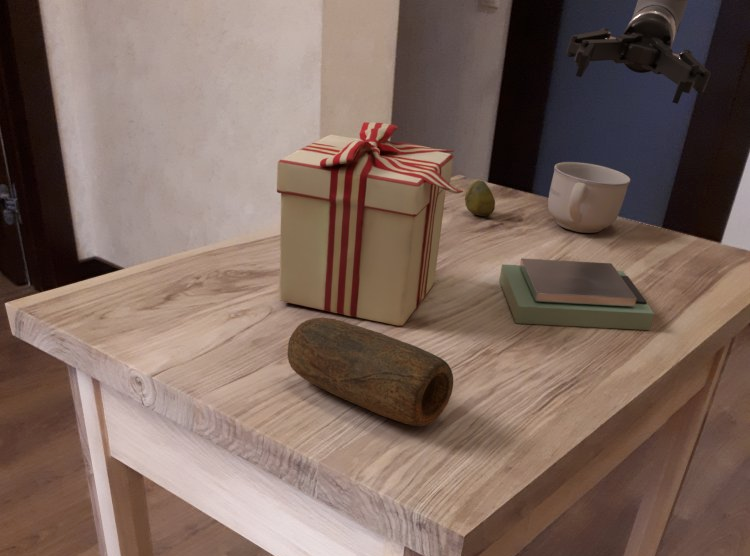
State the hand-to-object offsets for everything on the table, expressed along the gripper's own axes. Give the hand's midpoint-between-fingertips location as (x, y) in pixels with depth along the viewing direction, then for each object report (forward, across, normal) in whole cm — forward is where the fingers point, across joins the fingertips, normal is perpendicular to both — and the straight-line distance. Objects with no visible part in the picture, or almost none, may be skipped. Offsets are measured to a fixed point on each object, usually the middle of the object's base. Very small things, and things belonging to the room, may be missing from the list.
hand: (629, 79), depth 108 cm
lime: (+8, +14, -21) cm, 27 cm away
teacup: (+7, 0, -19) cm, 20 cm away
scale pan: (+36, -3, -12) cm, 38 cm away
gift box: (+45, +18, -16) cm, 51 cm away
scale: (+37, -3, -14) cm, 39 cm away
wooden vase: (+69, +11, -12) cm, 70 cm away
